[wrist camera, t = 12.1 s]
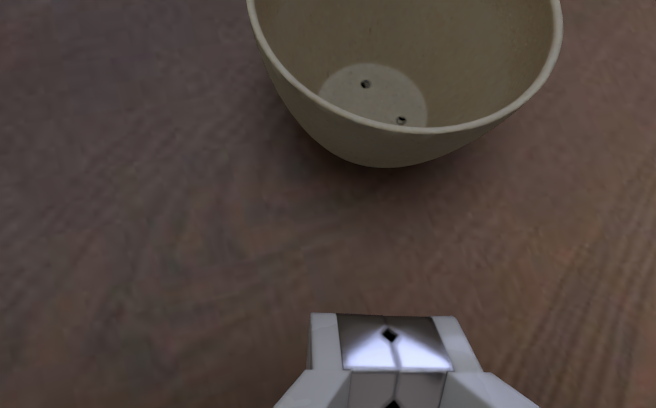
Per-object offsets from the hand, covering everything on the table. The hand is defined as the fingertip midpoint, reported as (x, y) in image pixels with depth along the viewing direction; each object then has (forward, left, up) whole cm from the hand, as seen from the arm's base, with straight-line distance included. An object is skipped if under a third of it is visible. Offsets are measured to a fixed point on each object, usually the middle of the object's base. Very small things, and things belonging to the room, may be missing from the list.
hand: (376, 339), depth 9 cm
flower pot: (+10, +4, -8) cm, 13 cm away
